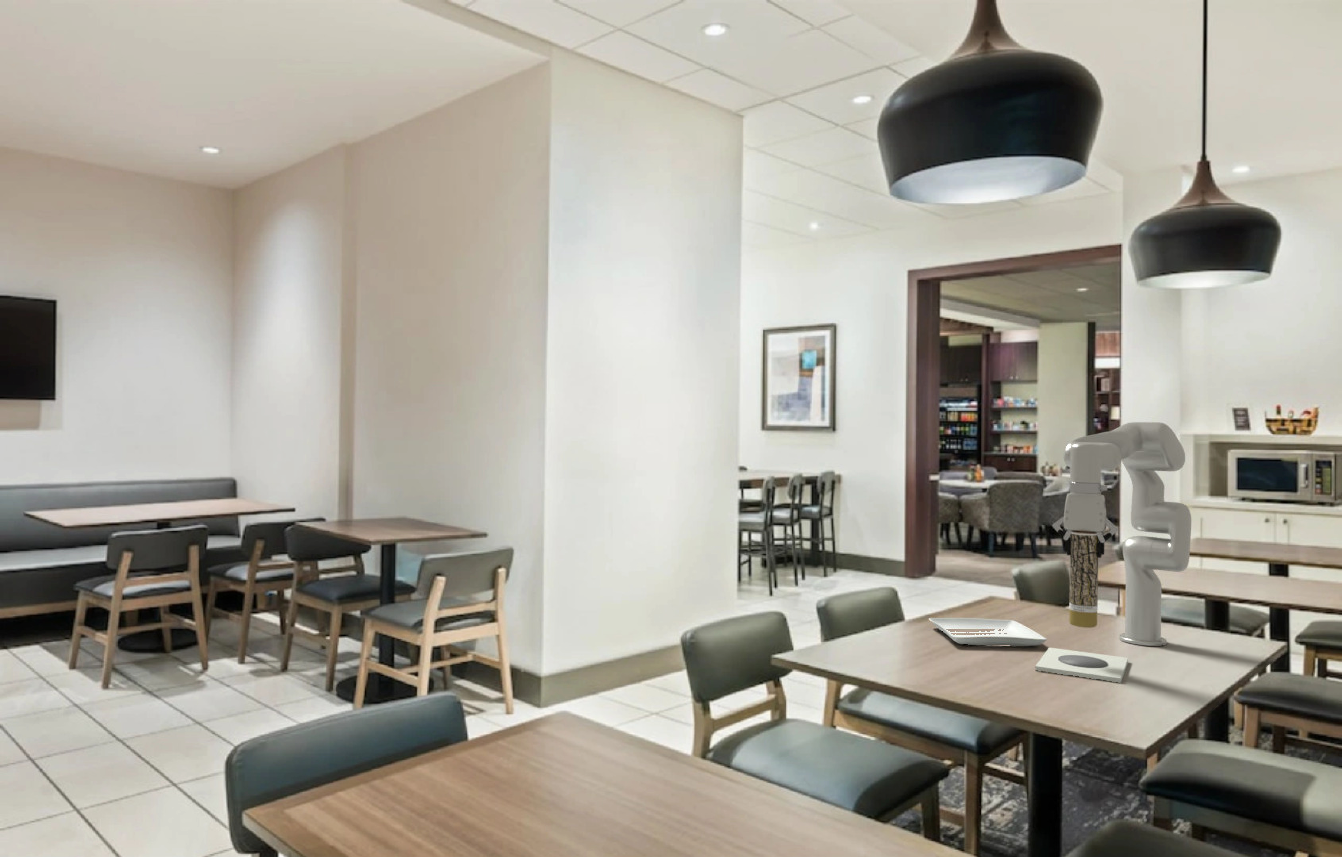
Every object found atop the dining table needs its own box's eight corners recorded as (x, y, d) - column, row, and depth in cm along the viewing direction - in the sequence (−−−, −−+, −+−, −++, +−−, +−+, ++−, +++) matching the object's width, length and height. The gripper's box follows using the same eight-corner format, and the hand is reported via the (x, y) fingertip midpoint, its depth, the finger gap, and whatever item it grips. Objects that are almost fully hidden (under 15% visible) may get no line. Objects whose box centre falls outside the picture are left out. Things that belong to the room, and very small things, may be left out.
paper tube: (1100, 629, 231) (1101, 534, 231) (1072, 627, 233) (1074, 533, 233) (1093, 623, 238) (1094, 531, 238) (1066, 622, 239) (1067, 530, 239)
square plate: (1048, 651, 253) (1048, 637, 253) (952, 649, 253) (953, 636, 253) (1013, 630, 280) (1014, 617, 280) (927, 628, 281) (927, 616, 281)
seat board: (1049, 651, 251) (1049, 646, 251) (1127, 662, 241) (1128, 656, 241) (1035, 670, 230) (1035, 665, 230) (1120, 683, 220) (1121, 677, 220)
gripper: (1122, 490, 234) (1121, 557, 234) (1052, 487, 243) (1051, 551, 243) (1120, 491, 228) (1119, 560, 228) (1048, 488, 237) (1047, 554, 237)
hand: (1084, 555), depth 235 cm, fingers closed on paper tube, 6 cm apart
